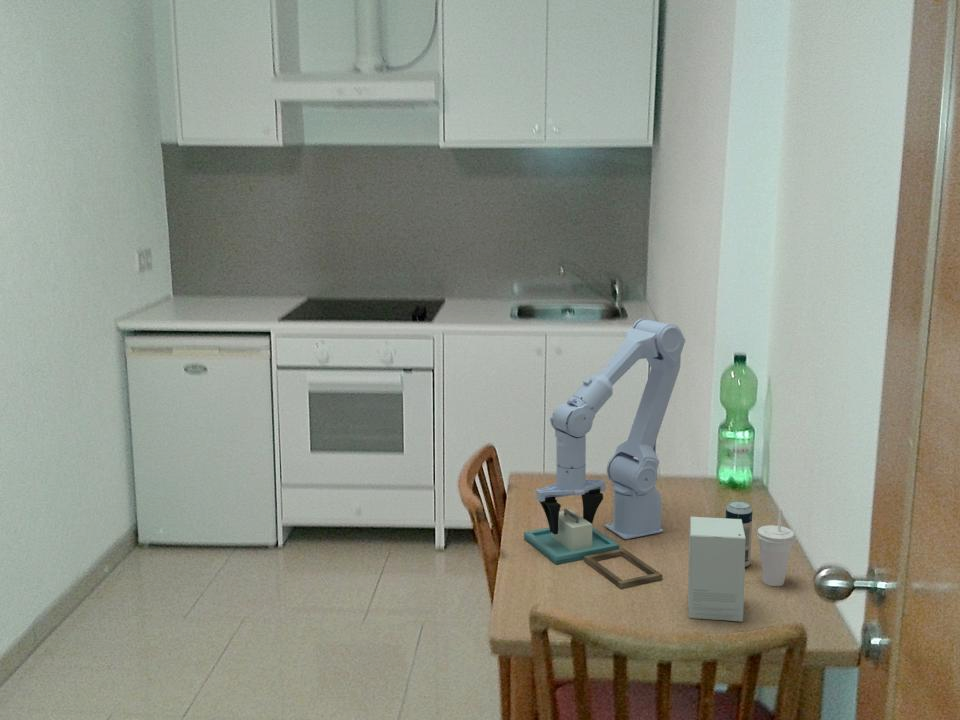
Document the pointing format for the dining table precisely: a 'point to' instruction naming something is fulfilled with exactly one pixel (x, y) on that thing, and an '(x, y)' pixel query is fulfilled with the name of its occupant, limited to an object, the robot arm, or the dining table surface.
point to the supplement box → (716, 569)
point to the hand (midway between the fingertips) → (570, 529)
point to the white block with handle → (573, 531)
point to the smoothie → (775, 551)
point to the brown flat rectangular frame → (624, 553)
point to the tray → (562, 554)
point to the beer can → (745, 513)
